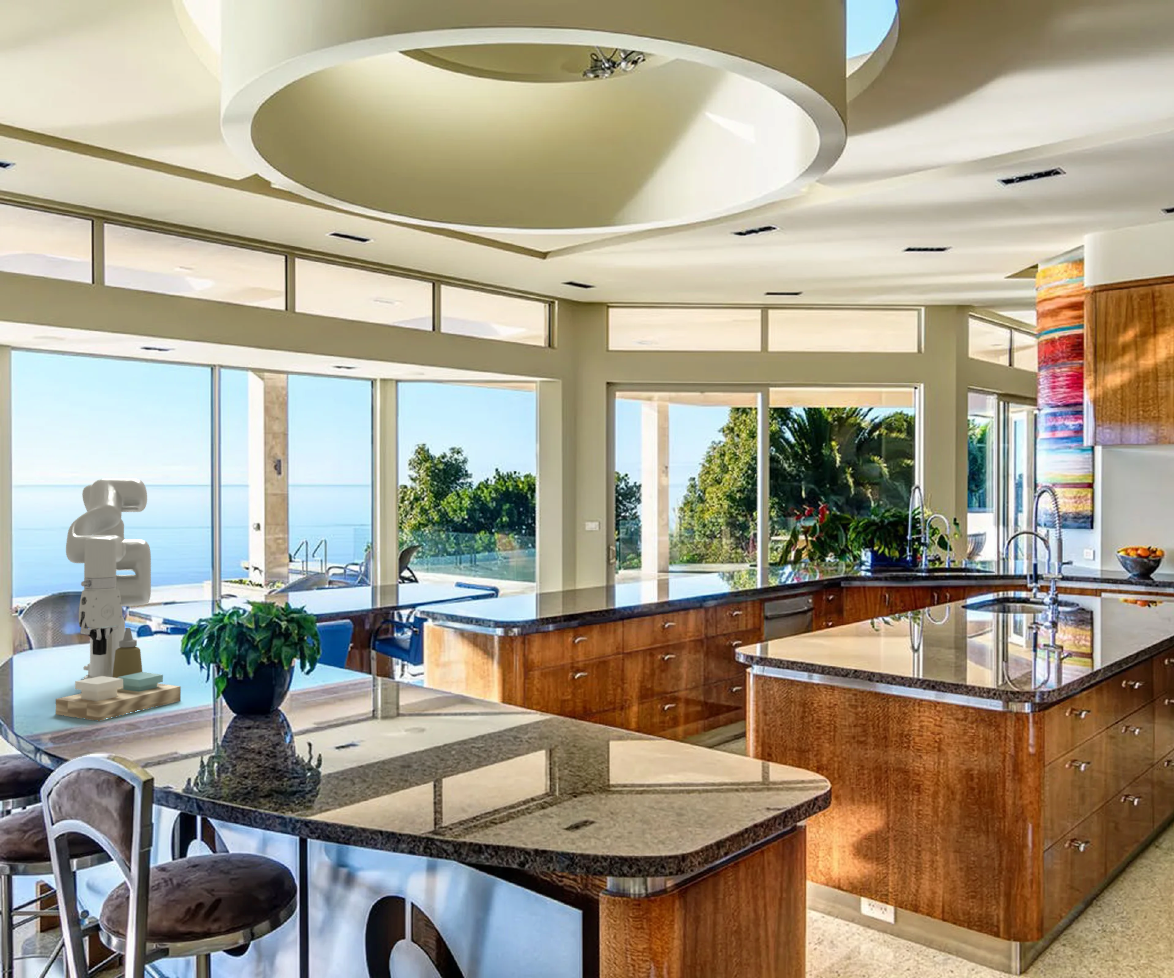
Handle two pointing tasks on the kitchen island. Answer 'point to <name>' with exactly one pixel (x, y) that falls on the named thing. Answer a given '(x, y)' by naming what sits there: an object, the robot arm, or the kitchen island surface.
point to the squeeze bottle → (127, 657)
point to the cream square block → (99, 688)
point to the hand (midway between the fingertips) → (99, 654)
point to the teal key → (141, 681)
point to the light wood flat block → (117, 702)
